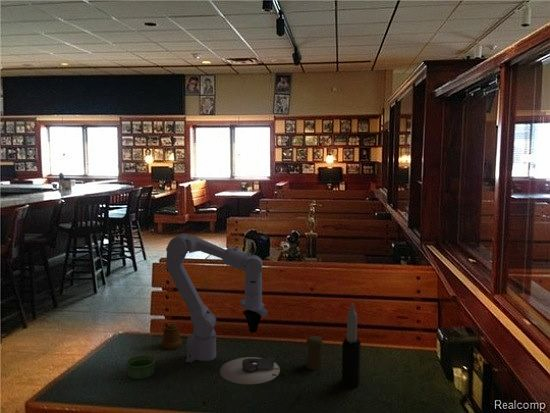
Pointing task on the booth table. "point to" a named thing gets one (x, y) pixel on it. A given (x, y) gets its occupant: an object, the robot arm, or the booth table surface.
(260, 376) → the dial plate
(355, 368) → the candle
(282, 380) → the booth table surface
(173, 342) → the ornamental finial
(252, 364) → the dial pointer
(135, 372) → the ramekin
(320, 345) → the cork
